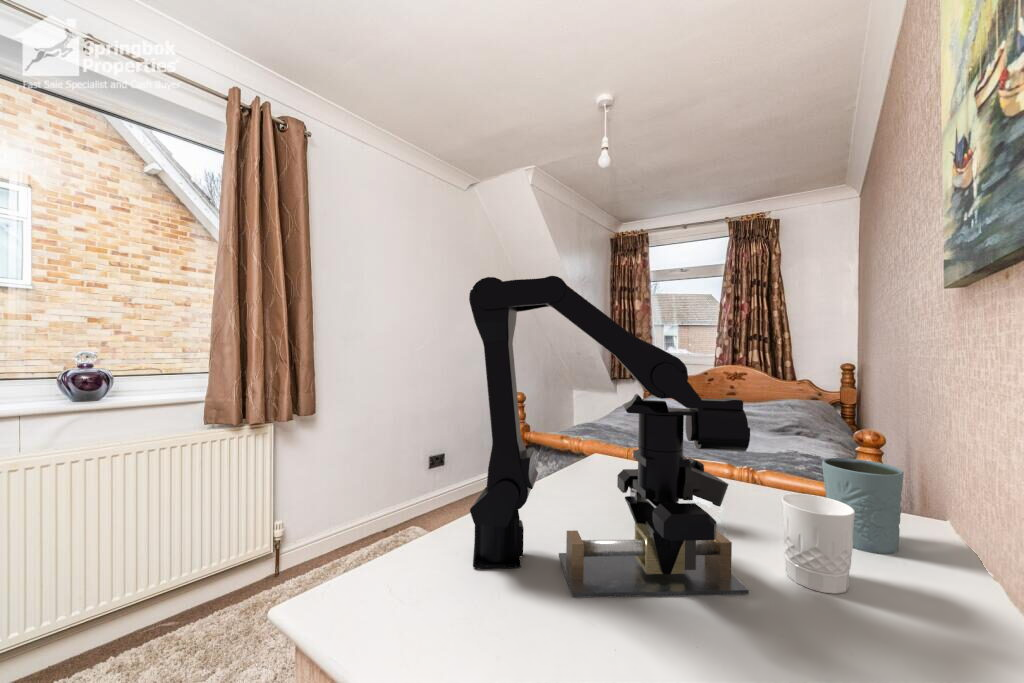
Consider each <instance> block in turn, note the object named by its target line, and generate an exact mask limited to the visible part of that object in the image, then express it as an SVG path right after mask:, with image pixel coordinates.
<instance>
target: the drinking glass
mask: <svg viewBox="0 0 1024 683" xmlns="http://www.w3.org/2000/svg"><path fill="white" fill-rule="evenodd" d="M821 463H822V464H821V465H822V474H823V483H824V484H823V485H824V490H825V498H829V499H833V500H836V501H839V502H842V503H844V504H846V505H848V506H850V507H852V508H853V509H854V511H855V517H854V532H853V548H852V549H855V550H858V551H863V552H866V553H867V552H868V553H873V554H881V555H890V554H894V553H896V552H898V550H899V546H900V545H899V543H900V530H901V529H900V524H901V514H902V507H901V502H902V490H903V482H904V471H903V470H902V469H901V468H898V467H896V466H894V465H890V464H886V463H883V462H878V461H871V460H866V459H865V460H864V459H858V458H847V457H845V458H844V457H830V458H829V457H828V458H824V459H823V460H822V462H821Z"/></svg>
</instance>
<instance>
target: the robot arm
mask: <svg viewBox="0 0 1024 683" xmlns="http://www.w3.org/2000/svg"><path fill="white" fill-rule="evenodd" d="M468 297H469V298H468V301H469V305H470V309H471V312H472V313H471V314H472V316H473V320H474V323H475V326H476V329H477V331H478V334H479V336H480V339H481V342H482V344H483V351H484V352H483V353H484V361H485V374H486V385H487V395H488V408H489V419H490V429H491V430H490V431H491V439H492V440H491V441H492V443H491V450H490V456H489V462H488V467H487V478H486V486H485V487H484V489H483V490H482V491H481V493H480V494H479V496H478V497H477V499H476V500H475V501H474V503H473V504H472V505H471V507H470V508H469V513H470V516H471V519H472V521H473V524H474V540H473V541H474V544H473V556H472V557H473V558H472V568H474V569H487V568H488V569H494V568H495V569H497V568H499V569H500V568H503V569H504V568H520V567H521V564H522V563H521V557H523V556H524V531H525V530H524V524H523V523H524V522H523V521H522V519H520V514H519V512H520V511H519V510H520V509H521V508H522V507H523V506H524V505H525V504H526V503H527V501H528V498H529V496H530V493H531V490H533V488H534V486H535V483H536V481H537V479H538V475H539V472H538V469H537V468H536V464H535V463H536V462H535V461H536V460H535V459H536V448H535V447H532V448H528V449H527V448H526V446H525V443H524V441H523V438H522V433H521V431H522V430H521V421H520V409H519V400H518V399H519V398H518V397H519V396H518V387H517V377H516V366H515V356H514V345H513V343H514V336H515V330H516V325H517V316H518V315H517V314H518V312H527V311H531V310H532V311H533V310H536V309H542V308H549V307H550V308H552V309H553V310H555V311H556V312H557V313H559V314H560V315H562V316H563V317H564V318H565V319H566V320H568V321H570V322H571V323H572V324H573V325H574V326H576V327H577V328H578V329H580V330H581V331H582V332H583V333H584V334H586V335H587V336H588V337H590V338H591V339H592V340H593V341H595V342H596V343H598V344H599V345H600V346H602V347H603V348H604V349H606V350H607V352H609V353H611V354H612V355H613V356H614V357H615V358H616V359H617V360H618V362H619V363H620V364H621V365H622V366H623V367H624V369H625V370H626V371H627V372H628V373H629V374H630V375H631V376H632V377H633V378H634V379H635V381H636V382H637V383H638V384H639V385H640V386H641V387H642V388H643V389H644V390H645V391H647V392H648V393H649V394H651V395H652V396H653V397H656V398H658V399H661V400H655V399H654V400H650V399H649V400H647V399H643V398H642V397H641V395H639V394H638V393H635V394H634V396H632V399H631V400H630V401H628V402H627V403H625V404H624V405H623V408H624V410H625V411H626V413H627V414H638V440H637V441H638V443H637V444H638V445H637V449H633V451H632V452H633V453H632V456H633V457H632V458H634V459H635V460H636V461H637V468H635V469H634V468H632V469H631V468H630V469H629V468H627V469H626V468H623V469H622V470H621V471H620V472H619V473H618V474H617V480H616V481H617V482H616V483H617V488H618V490H619V491H620V492H621V493H622V494H626V493H627V492H628V490H629V489H630V494H629V495H626V496H624V500H625V502H626V504H627V506H628V509H629V511H630V513H631V516H632V518H633V521H634V524H635V523H646V524H647V528H648V531H649V534H650V537H651V540H652V544H653V547H654V550H655V553H656V557H657V560H658V563H659V566H660V569H661V572H662V573H663V574H671V572H672V570H673V567H674V564H675V562H676V559H677V556H678V554H679V551H680V549H681V546H682V544H683V542H684V540H715V539H716V530H717V521H716V520H715V519H714V518H713V517H712V516H711V514H710V513H709V512H707V511H705V510H704V509H703V508H702V507H700V506H699V505H698V504H697V503H695V502H687V503H683V502H682V503H679V501H680V500H683V501H694V497H697V498H699V499H702V500H705V501H707V502H709V503H711V504H712V505H714V506H716V507H721V506H722V503H723V501H724V499H725V495H726V493H727V491H728V488H729V483H728V482H726V481H724V480H722V479H720V478H719V477H717V476H716V475H714V474H711V473H710V472H708V471H705V465H704V463H702V462H701V461H699V460H696V459H694V458H691V457H686V456H684V423H685V436H686V439H687V440H688V442H694V446H695V448H696V449H697V450H705V451H721V452H722V451H725V452H727V451H728V452H747V450H748V448H749V446H750V442H751V428H750V427H749V423H748V418H747V414H746V411H745V410H744V401H743V400H741V399H740V398H735V397H732V398H731V397H726V398H721V399H719V398H701V397H700V396H699V395H700V394H699V393H698V392H696V390H695V388H693V386H692V385H691V384H690V382H689V375H688V374H689V373H688V367H687V365H686V364H685V363H684V362H683V361H682V359H680V358H679V357H677V356H676V355H673V354H671V353H669V352H668V351H665V350H664V349H662V348H660V347H658V346H656V345H653V344H652V343H650V342H647V341H645V340H644V339H642V338H639V337H637V336H635V335H634V334H632V333H630V332H629V331H628V330H626V329H625V328H624V327H623V326H621V325H620V324H618V323H617V322H616V321H615V320H613V319H612V318H610V317H609V316H608V315H607V314H606V313H604V312H603V311H602V310H600V309H599V308H598V307H596V306H595V305H594V304H593V303H591V302H589V301H588V299H586V298H584V297H583V296H582V295H580V294H579V293H578V292H577V291H575V290H574V289H573V288H572V287H570V286H569V285H568V284H566V282H565V281H564V279H563V278H561V277H560V276H556V275H548V276H546V277H541V278H539V277H538V278H525V279H523V278H521V279H510V280H504V281H503V280H502V279H500V278H497V277H495V276H492V277H491V276H487V277H483V278H480V279H479V280H477V281H476V282H475V284H474V285H473V287H471V288H470V292H469V296H468ZM663 399H664V400H663ZM665 399H672V400H674V401H675V402H677V403H678V404H680V405H682V406H683V407H685V408H683V407H682V408H681V407H668V403H667V402H666V400H665ZM684 418H685V419H684ZM684 420H685V421H684Z"/></svg>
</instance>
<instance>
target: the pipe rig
mask: <svg viewBox="0 0 1024 683" xmlns="http://www.w3.org/2000/svg"><path fill="white" fill-rule="evenodd" d="M565 542H566V543H565V544H566V547H565V548H566V549H565V550H566V551H565V552H558V557H559V560H560V564H561V566H562V570H563V572H564V573H563V574H564V576H565V578H566V579H565V580H566V582H567V584H568V588H569V590H570V595H571V597H572V598H598V597H599V598H600V597H601V598H605V597H607V598H609V597H612V598H613V597H649V596H650V597H660V596H661V597H663V596H664V597H665V596H713V595H715V596H717V595H719V596H720V595H721V596H722V595H723V596H724V595H726V596H727V595H749V593H750V590H749V588H748V587H746V585H744V583H742V582H741V581H740V580H739V579H738V577H736V576H735V575H734V574H733V573H732V557H733V554H732V551H733V550H732V548H733V546H732V545H733V543H732V541H731V540H729V539H728V538H727V537H726V536H725V535H723V534H722V533H721V532H719V531H718V530H717V529H716V539H715V540H696V570H685V574H646V572H645V571H644V570H643V568H642V567H641V565H640V564H639V562H638V561H637V559H636V558H635V556H645V540H644V539H640V540H635V539H582V536H581V535H580V533H579V531H578V530H566V541H565Z"/></svg>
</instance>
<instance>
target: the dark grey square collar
mask: <svg viewBox="0 0 1024 683" xmlns="http://www.w3.org/2000/svg"><path fill="white" fill-rule="evenodd" d="M685 570H696V540H685Z"/></svg>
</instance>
